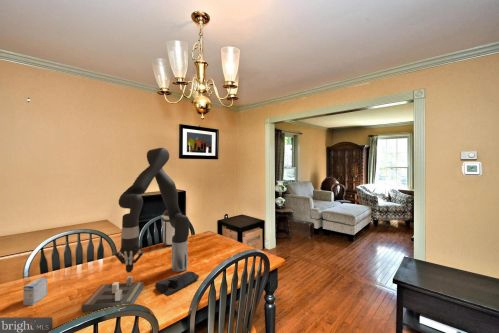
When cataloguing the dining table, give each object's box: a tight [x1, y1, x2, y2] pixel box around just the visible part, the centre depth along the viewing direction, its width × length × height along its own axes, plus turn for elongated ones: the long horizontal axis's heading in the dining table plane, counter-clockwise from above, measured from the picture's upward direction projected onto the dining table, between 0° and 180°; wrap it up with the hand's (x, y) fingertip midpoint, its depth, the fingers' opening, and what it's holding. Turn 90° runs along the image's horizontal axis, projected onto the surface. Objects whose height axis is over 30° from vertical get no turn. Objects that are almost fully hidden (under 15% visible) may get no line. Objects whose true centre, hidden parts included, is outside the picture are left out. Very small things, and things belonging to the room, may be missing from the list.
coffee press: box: [160, 209, 175, 248], centre depth 182 cm, size 17×16×30 cm
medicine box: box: [22, 277, 48, 306], centre depth 106 cm, size 8×4×9 cm, turn 5°
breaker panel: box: [81, 275, 144, 313], centre depth 107 cm, size 20×17×7 cm
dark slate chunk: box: [153, 271, 200, 296], centre depth 123 cm, size 15×22×5 cm
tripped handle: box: [111, 281, 120, 293], centre depth 107 cm, size 2×2×4 cm
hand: (129, 271), depth 108 cm, fingers closed
